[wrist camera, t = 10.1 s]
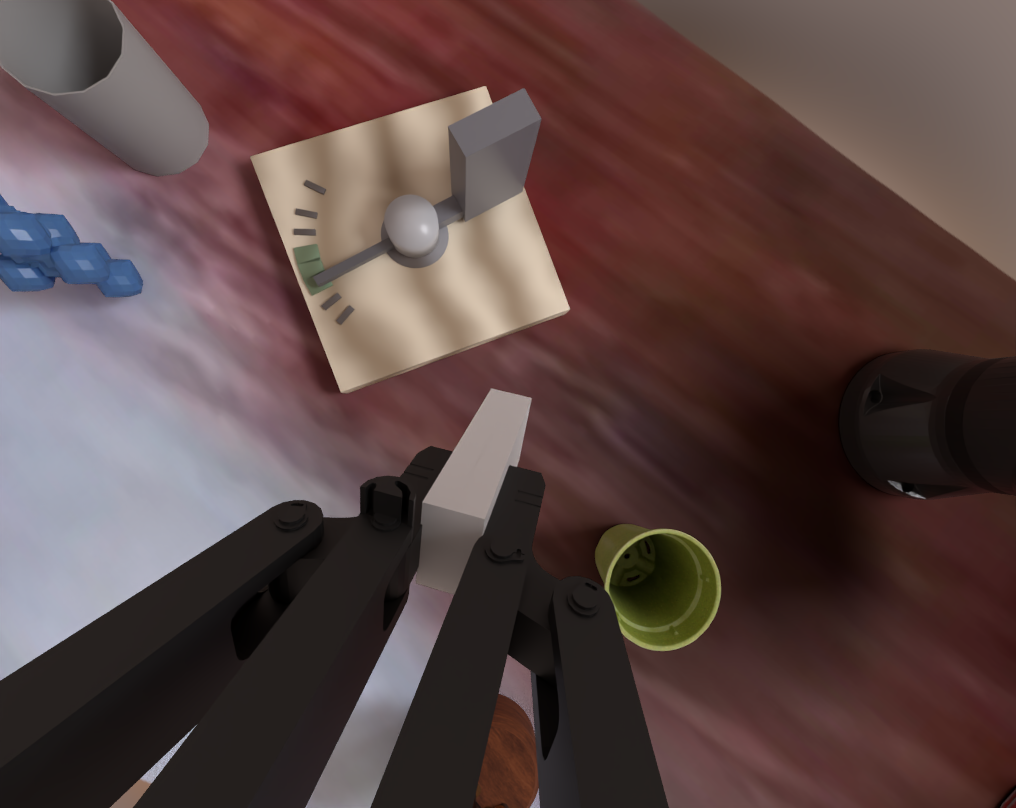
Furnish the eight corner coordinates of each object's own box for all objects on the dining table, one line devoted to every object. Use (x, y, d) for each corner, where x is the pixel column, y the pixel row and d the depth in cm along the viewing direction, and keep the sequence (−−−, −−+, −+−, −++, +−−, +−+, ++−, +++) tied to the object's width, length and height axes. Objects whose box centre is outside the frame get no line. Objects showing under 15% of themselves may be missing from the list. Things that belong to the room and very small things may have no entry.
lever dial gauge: (331, 305, 38) (284, 267, 28) (305, 261, 38) (249, 207, 28) (527, 201, 40) (548, 131, 30) (503, 159, 40) (516, 75, 30)
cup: (228, 129, 40) (151, 35, 30) (165, 194, 39) (64, 120, 30) (154, 65, 40) (51, -52, 30) (88, 130, 39) (-41, 32, 29)
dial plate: (484, 101, 43) (485, 84, 40) (565, 314, 43) (570, 308, 41) (260, 169, 40) (248, 155, 38) (346, 393, 41) (340, 392, 38)
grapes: (17, 276, 38) (-187, 212, 26) (61, 210, 39) (-120, 118, 27) (142, 343, 39) (0, 311, 27) (183, 278, 39) (61, 218, 27)
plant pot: (596, 618, 42) (630, 670, 34) (563, 527, 42) (588, 556, 34) (683, 581, 43) (737, 623, 35) (650, 492, 43) (697, 511, 35)
